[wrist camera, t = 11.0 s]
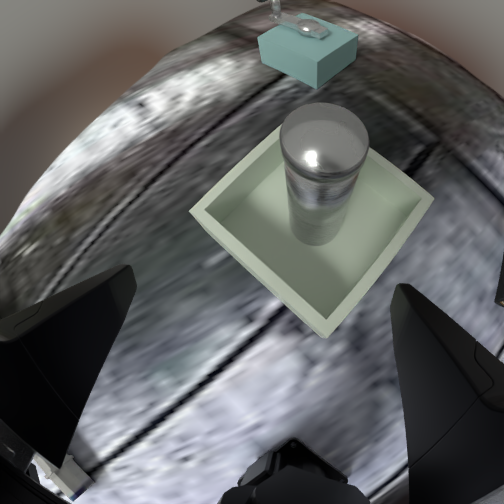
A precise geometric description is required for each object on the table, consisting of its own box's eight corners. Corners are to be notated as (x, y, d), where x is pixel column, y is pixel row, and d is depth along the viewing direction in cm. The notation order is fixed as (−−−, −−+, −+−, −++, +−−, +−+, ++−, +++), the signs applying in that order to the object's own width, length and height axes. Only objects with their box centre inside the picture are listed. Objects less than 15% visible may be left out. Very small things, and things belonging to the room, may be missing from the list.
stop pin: (352, 219, 23) (386, 133, 12) (318, 258, 22) (334, 190, 12) (311, 187, 24) (316, 89, 13) (277, 223, 23) (259, 137, 13)
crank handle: (337, 30, 25) (338, -5, 20) (309, 47, 25) (308, 9, 20) (287, 12, 27) (284, -20, 22) (258, 27, 27) (252, -6, 22)
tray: (414, 220, 23) (434, 198, 18) (321, 337, 22) (327, 338, 17) (304, 137, 26) (304, 105, 22) (206, 232, 25) (189, 211, 21)
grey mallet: (65, 508, 16) (-55, 327, 20) (93, 483, 22) (-20, 328, 26) (83, 492, 16) (-44, 298, 20) (113, 465, 23) (-8, 302, 27)
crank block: (355, 59, 29) (358, 34, 25) (316, 89, 28) (317, 62, 24) (303, 36, 31) (302, 12, 27) (262, 62, 30) (257, 37, 26)
